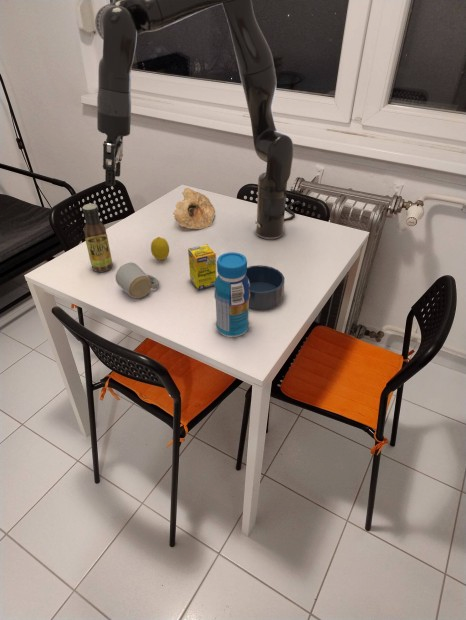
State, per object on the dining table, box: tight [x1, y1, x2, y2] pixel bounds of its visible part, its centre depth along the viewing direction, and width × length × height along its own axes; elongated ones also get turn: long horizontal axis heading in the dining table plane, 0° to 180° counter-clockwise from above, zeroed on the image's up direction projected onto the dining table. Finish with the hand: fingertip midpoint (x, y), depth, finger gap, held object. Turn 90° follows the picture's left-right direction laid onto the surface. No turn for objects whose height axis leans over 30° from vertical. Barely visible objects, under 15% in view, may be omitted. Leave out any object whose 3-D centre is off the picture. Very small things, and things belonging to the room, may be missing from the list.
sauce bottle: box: [82, 203, 113, 273], centre depth 116 cm, size 6×6×20 cm
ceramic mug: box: [115, 262, 160, 299], centre depth 110 cm, size 11×8×8 cm
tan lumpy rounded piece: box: [172, 187, 216, 230], centre depth 145 cm, size 18×14×8 cm
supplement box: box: [187, 244, 217, 292], centre depth 112 cm, size 6×6×11 cm
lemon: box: [150, 236, 170, 261], centre depth 123 cm, size 6×6×8 cm
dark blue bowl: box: [246, 264, 286, 312], centre depth 108 cm, size 13×13×6 cm
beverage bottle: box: [213, 251, 250, 338], centre depth 94 cm, size 8×8×20 cm
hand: (113, 180), depth 101 cm, fingers open, 8 cm apart
